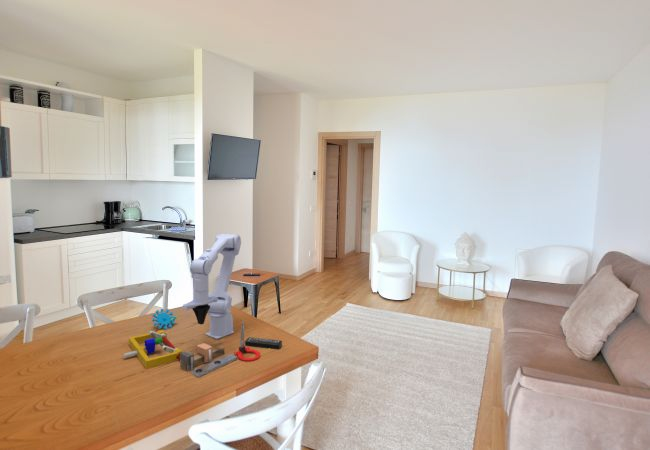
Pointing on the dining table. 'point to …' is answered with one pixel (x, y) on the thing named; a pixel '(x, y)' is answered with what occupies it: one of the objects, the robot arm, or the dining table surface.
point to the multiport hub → (263, 343)
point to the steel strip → (214, 365)
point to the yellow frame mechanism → (153, 349)
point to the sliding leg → (205, 352)
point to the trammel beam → (197, 358)
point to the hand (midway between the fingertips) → (200, 323)
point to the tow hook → (245, 349)
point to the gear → (164, 319)
